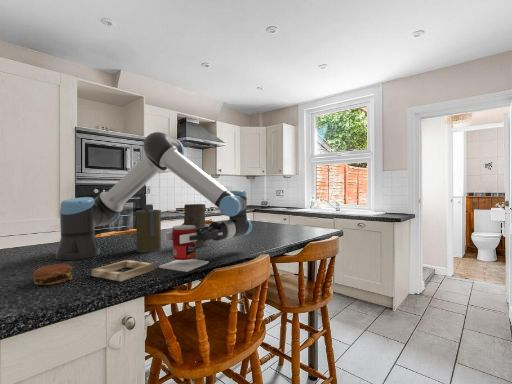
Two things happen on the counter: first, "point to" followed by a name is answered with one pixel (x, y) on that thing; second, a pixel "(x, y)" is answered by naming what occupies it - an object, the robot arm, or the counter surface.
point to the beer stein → (195, 218)
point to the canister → (148, 229)
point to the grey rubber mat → (184, 265)
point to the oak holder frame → (110, 273)
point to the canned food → (185, 249)
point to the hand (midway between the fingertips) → (172, 238)
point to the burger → (52, 274)
